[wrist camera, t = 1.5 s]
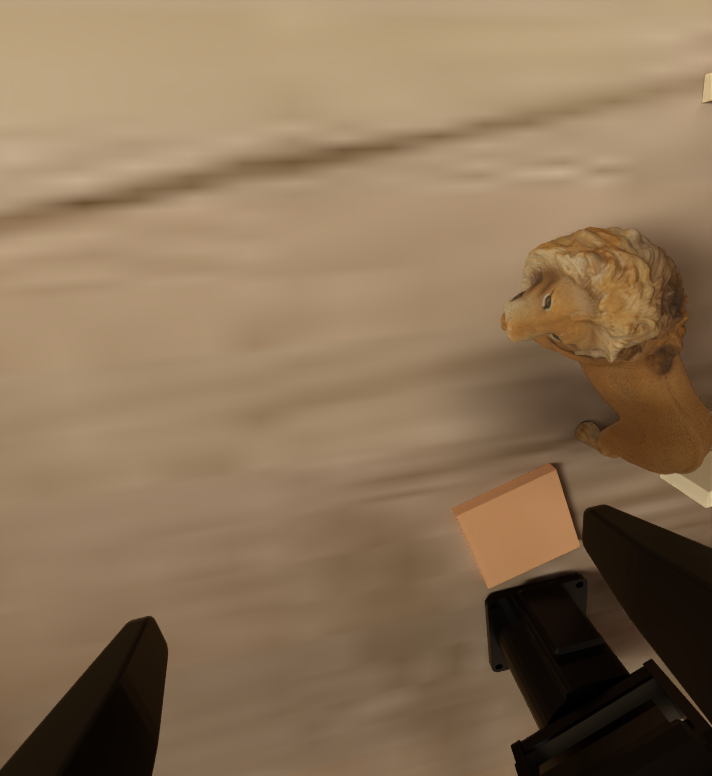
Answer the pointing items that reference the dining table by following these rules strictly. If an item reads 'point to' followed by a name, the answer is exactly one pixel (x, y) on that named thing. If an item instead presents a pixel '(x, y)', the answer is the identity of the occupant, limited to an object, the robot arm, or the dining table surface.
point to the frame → (708, 480)
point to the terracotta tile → (517, 525)
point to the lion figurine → (618, 341)
